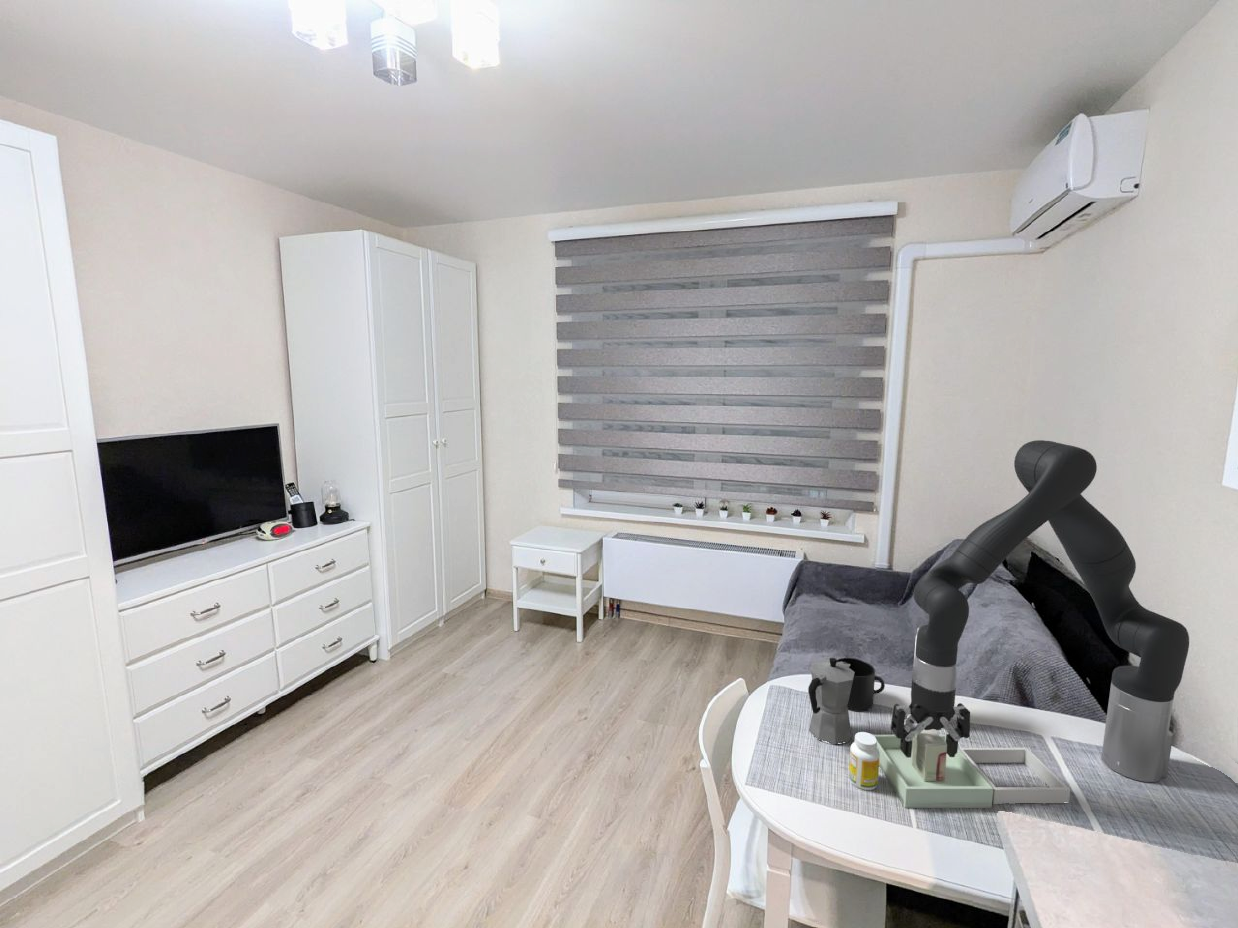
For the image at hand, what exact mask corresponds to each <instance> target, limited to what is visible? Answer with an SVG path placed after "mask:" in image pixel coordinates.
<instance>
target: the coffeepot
mask: <svg viewBox="0 0 1238 928" xmlns="http://www.w3.org/2000/svg"><path fill="white" fill-rule="evenodd" d="M837 660H838V659H837V658H835V657H829V660H822V661H818V662H814V663H812V666H811V669H810V672H811V681H810V683H809V685H808V688H807V690H808V696H809V701H810V707H811V710H812V715H811V719H810V724H809V728H808V731H809V732H810V734H811V733H812V734H813V735H814V736H815V737H816V738H818V739H820V740H823V741H827V742H829V743H833V744H832V745H834V744H838V743H843V742H846V743H847V741H848V742H850V739H851V733H852V728H851V723H850V714H849V709H848V707H847V704H848V701H849V696H850V692H851V687H852V683H853V678H854V673H855V672H854V671H853V670H851V669H850V668H849V667H850V665H851V664H848V663H846V662H837ZM836 662H837V663H836ZM812 734H811V735H812ZM813 735H812V736H813ZM814 736H813V737H814ZM815 737H814V738H815ZM818 739H817V740H818ZM820 740H819V741H820Z"/></svg>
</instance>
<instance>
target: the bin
mask: <svg viewBox="0 0 1238 928" xmlns="http://www.w3.org/2000/svg"><path fill="white" fill-rule="evenodd" d="M872 735H873V736H874V737H875V738H876V739H877V749H878V750H879V753H880V758H879V767H880V768H881V769H880V768H879V769H880V771H881V770H882V771H881V772H882V774H883V773H884V774H883V776H884V777H885V779H886V780H887V782H888V783H889V785H890V786H891V789H892V790H893V791H894V793H895V794H896V796H897V798H898V800H899V801H900V802H901V804H902V805H903V808H904V809H991V808H992V805H993V803H992V797H993V788H992V787H991V785H990V784H989V783H988V782H987V781H986V780H985V779H984V777H983V776H982V775H981V774H980V773H979V772H978V771H977V769H976V768H975V767H974V766H973V765H972V764H971V763H970V761H969V760H968V759H967V758H966V757H965V756H964V755H963V753H962V752H961V751H960V750H959V749H958V751H957V754H955V757H949V755H948V754H947V753H946V768H945V780H938V781H924V780H923V779H922V778H921V776H920V775H919V774H918V773H917V771H916V770H915V769H914V768H913V766H912V765H911V762H912V751H911V758H907V757H906V756H905V755H904V754H903V752H902V751H901V749H900V740H901V738H900V739H899V738H897V737H896V736H895V734H872ZM938 735H939V736H940V737H941V738H942V739H943V740H944V741H945V743H946V734H938ZM911 741H912V747H913V738H912V739H911Z"/></svg>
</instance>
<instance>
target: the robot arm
mask: <svg viewBox="0 0 1238 928" xmlns="http://www.w3.org/2000/svg"><path fill="white" fill-rule="evenodd" d="M1013 462H1014V463H1013V465H1014V471H1015V474H1016V477H1017V478H1018V480H1019V482H1020V483H1021V485H1022V486H1023V487H1024V489H1025V490H1026V491H1027V492H1028V493H1027V494H1026V496H1025V497H1023V498H1022V499H1021V500H1020V501H1019V502H1016V504H1014V505H1013V506H1011V507H1010V508H1009V509H1006V510H1005V511H1003V512H1001V513H999V514H998V515H995V516H993V517H991V518H990V519H988V520H986V521H985V522H983V523H982V524H980V525H978V526H977V527H976V528H975V529H974V530H973V531H971V532H970V533H969V534H968V535H967V536H966V537H965V539H964V540H963V541H962V542H961V543H960V544H959V545H958V547H957V548H956V549H955V550H954V552H953V553H952V554H951V555H950V556H949V557H947V558H946V559H945V560H943V561H941V562H940V563H938V564H937V565H935V566H934V567H933V568H931V569H930V570H929V571H927V572H926V573H925V574H923V575H922V576H921V577H920V579H918V581H917V583H916V584H915V586H914V589H913V592H912V593H913V599H914V602H915V604H916V605H917V606H918V607H919V608H920V609H921V610H922V611H924V612H925V613H926V614H928V624H925V625H921V626H920V627H918V628H919V630H918V633H917V632H916V635H917V639H916V638H915V640H916V651H915V650H914V654H915V659H914V658H913V665H912V674H911V688H910V689H911V690H910V704H909V705H908V706H901V705H900V704H899V703H895V704H894V705H893V710H892V717H891V722H890V723H891V725H890V726H891V727H890V731H892V733H893V735H895V736H896V737H897V738H899V739H900V738H901V740H900V749H901V751H902V752H903V754H904V755H905V756H906V757H907V758H911V751H912V741H911V739H912V738H913V737H914V736H915V735H916V734H920V733H921V732H922V730H934V731H941V730H942V729H944V730H945V731H946V732H947V734H946V744H947V754H948V755H949V757H955V754H957V751H958V748H959V741H960V740H961V739H962V738H965V739H969V738H970V735H971V734H970V732H971V711H970V710H969V709H968V708H967V707H966V706H965V705H964V704H963V703H962V702H961V703H958V704H956V706H955V703H956V702H955V701H956V691H957V681H958V669H957V662H958V661H957V659H958V648H959V647H958V645H959V641H960V640H961V638H962V636H963V633H964V630H965V628H966V625H967V623H968V621H969V615H970V605H969V601H968V598H967V597H966V595H965V594H964V593H963V592H962V591H961V590H960V589H962V588H963V587H964V586H966V585H967V584H970V583H971V584H975V585H981V584H983V583H985V582H986V581H987V580H988V579H989V578H990V577H991V576H992V574H994V572H996V570H997V569H998V568H999V567H1000V565H1001V564H1002V563H1003V562H1004V561H1005V560H1006V559H1007V558H1008V556H1009V555H1010V554H1011V553H1013V551H1014V550H1015V549H1016V548H1017V547H1018V546H1020V544H1021V543H1023V541H1024V540H1026V539H1027V538H1028V537H1030V536H1031V534H1033V533H1034V532H1036V530H1038V529H1039V528H1040V527H1042V526H1044V524H1045V523H1046V522H1048V523H1049V525H1050V527H1051V528H1052V531H1053V532H1054V533H1055V535H1056V538H1058V541H1059V542H1060V544H1061V545H1062V547H1063V549H1064V552H1065V554H1066V555H1067V557H1068V559H1069V560H1070V562H1071V565H1073V567H1074V569H1075V570H1076V572H1077V573H1078V575H1079V577H1080V579H1081V581H1082V582H1083V585H1085V588H1086V589H1087V591H1088V594H1089V595H1090V596H1091V598H1092V600H1093V603H1094V604H1095V607H1096V609H1097V611H1098V614H1099V617H1100V619H1101V621H1102V625H1103V627H1104V630H1105V632H1106V633H1107V636H1108V637H1109V638H1110V640H1111V641H1112V642H1113V643H1114V644H1115V645H1116V646H1118V647H1119V648H1121V650H1124V651H1126V652H1129V653H1131V654H1133V655H1134V656H1136V657H1138V658H1140V661H1139V665H1138V666H1135V665H1120V666H1116V667H1115V668H1114V669H1113V671H1112V674H1111V681H1110V682H1111V683H1110V690H1109V698H1108V705H1107V711H1106V712H1107V713H1106V720H1105V728H1104V734H1103V742H1102V751H1101V760H1102V761H1103V763H1104V764H1105V765H1106V766H1107V767H1108V768H1110V769H1111V770H1113V772H1114V771H1115V772H1116V773H1117V774H1120V775H1121V776H1124V777H1127V778H1128V779H1132V780H1135V781H1139V782H1145V783H1156V782H1158V781H1160V780H1161V779H1162V778H1166V777H1167V776H1168V771H1169V765H1170V758H1171V752H1172V746H1173V740H1174V738H1173V737H1174V734H1173V732H1172V731H1171V730H1170V725H1171V718H1172V712H1173V711H1172V710H1173V704H1174V698H1175V693H1176V690H1177V689H1178V688H1179V686H1180V684H1181V682H1182V678H1183V674H1184V670H1185V665H1186V661H1187V657H1188V653H1189V648H1190V635H1189V632H1188V630H1187V628H1186V627H1185V626H1184V625H1183V624H1182V623H1180V622H1179V621H1176V620H1175V619H1171V618H1169V617H1166V616H1164V615H1162V614H1160V613H1158V612H1157V613H1156V612H1154V611H1151V610H1149V609H1147V608H1145V607H1144V606H1142V604H1140V603H1139V602H1138V600H1137V599H1136V596H1134V594H1133V592H1132V590H1131V588H1130V583H1131V582H1132V580H1133V579H1134V575H1135V573H1136V570H1137V569H1136V568H1137V565H1136V564H1137V563H1136V559H1135V557H1134V554H1133V552H1132V550H1131V548H1130V546H1129V545H1128V543H1127V541H1126V539H1125V538H1124V536H1123V534H1122V533H1121V532H1120V530H1119V529H1118V528H1117V527H1116V525H1114V524H1113V523H1112V521H1110V520H1109V519H1108V518H1107V517H1106V516H1105V515H1104V514H1103V513H1102V512H1101V511H1100V510H1098V509H1097V508H1096V507H1095V506H1094V505H1092V504H1091V503H1090V502H1089V500H1087V499H1086V498H1085V497H1084V496H1083V495H1082V493H1083V492H1085V491H1086V490H1087V488H1088V487H1089V486H1090V485H1091V483H1092V482H1093V480H1094V479H1095V477H1096V475H1097V474H1096V473H1097V470H1098V467H1097V460H1096V459H1095V457H1094V456H1093V454H1092V453H1091V452H1090V451H1088V450H1086V449H1084V448H1081V447H1078V446H1074V445H1069V444H1066V443H1060V442H1056V441H1053V440H1044V439H1043V440H1042V439H1039V440H1037V439H1036V440H1031V441H1028V442H1027V443H1024V444H1023V445H1021V447H1020V448H1019V449H1018V450H1017V452H1016V454H1015V457H1014V461H1013ZM909 715H910V716H909ZM955 716H956V727H955V728H954V727H953V725H952V724H951V723H950V721H951V720H952V719H953V718H954V717H955ZM915 721H916V722H917V723H916V725H915Z"/></svg>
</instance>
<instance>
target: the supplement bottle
mask: <svg viewBox="0 0 1238 928" xmlns="http://www.w3.org/2000/svg"><path fill="white" fill-rule="evenodd" d="M873 735H874V734H872V733H869V732H866V731H860V732H859V731H858V732H857V733H855V735H854V741H853V742H852V744H851V745H850V749H849V762H848V763H849V764H848V780H849V782H850V783H851V784H852V785H853V786H854V787H855V788H858V789H860V790H864V791H865V790H866V791H872V790H875V789H877V786H878V782H879V770H880V768H879V758H880V753H879V750H878V749H877V739H876V738H875V737H874V736H873Z"/></svg>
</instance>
